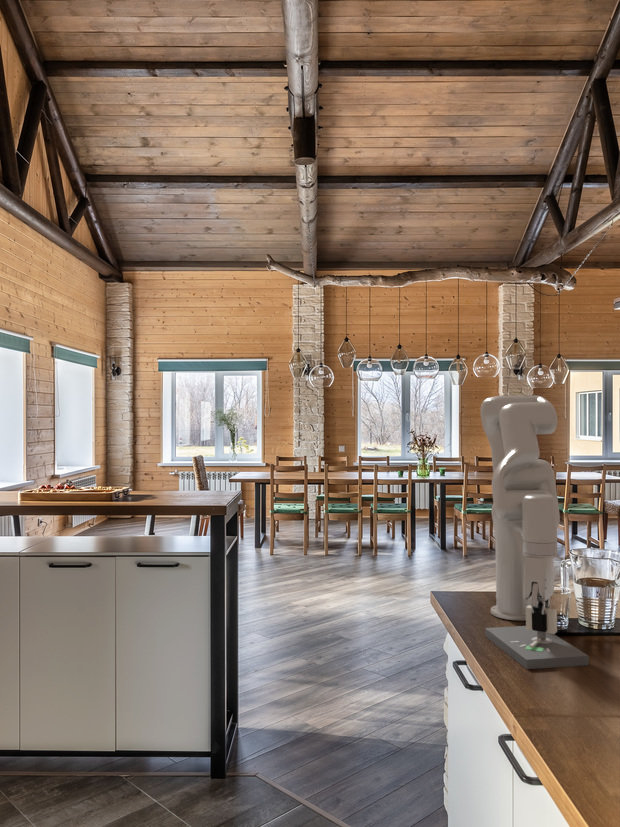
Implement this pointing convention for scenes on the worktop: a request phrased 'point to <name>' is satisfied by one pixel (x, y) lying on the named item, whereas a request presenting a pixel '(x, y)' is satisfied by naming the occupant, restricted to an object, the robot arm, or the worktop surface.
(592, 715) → the worktop surface
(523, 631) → the dial board
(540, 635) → the door lever handle
